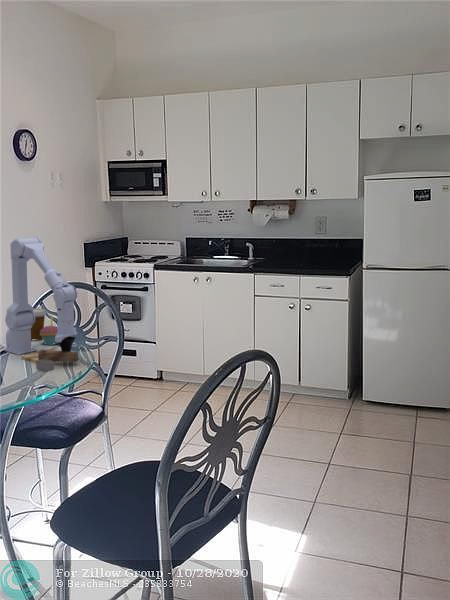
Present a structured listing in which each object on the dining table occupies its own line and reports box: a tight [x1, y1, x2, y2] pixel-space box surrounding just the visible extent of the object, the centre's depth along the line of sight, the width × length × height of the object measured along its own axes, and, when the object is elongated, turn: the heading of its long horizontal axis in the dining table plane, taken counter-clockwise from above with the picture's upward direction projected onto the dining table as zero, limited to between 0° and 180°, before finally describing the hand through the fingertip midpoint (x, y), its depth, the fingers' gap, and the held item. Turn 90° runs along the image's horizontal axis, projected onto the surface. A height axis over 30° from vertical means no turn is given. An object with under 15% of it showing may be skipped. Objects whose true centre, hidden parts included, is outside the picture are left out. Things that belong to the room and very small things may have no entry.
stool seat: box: [21, 348, 62, 364], centre depth 226 cm, size 12×14×1 cm
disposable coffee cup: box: [31, 307, 47, 341], centre depth 252 cm, size 10×10×12 cm
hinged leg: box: [37, 348, 79, 363], centre depth 218 cm, size 14×3×4 cm, turn 86°
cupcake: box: [40, 314, 58, 345], centre depth 246 cm, size 9×8×12 cm
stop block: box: [35, 359, 55, 373], centre depth 212 cm, size 5×4×3 cm
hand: (66, 357), depth 220 cm, fingers closed
